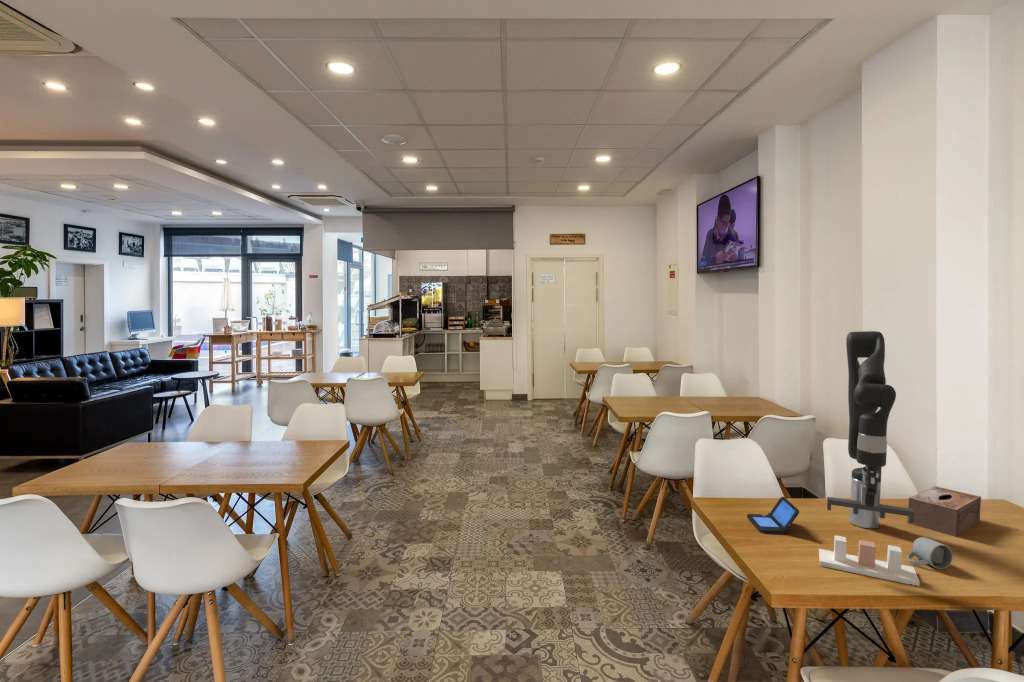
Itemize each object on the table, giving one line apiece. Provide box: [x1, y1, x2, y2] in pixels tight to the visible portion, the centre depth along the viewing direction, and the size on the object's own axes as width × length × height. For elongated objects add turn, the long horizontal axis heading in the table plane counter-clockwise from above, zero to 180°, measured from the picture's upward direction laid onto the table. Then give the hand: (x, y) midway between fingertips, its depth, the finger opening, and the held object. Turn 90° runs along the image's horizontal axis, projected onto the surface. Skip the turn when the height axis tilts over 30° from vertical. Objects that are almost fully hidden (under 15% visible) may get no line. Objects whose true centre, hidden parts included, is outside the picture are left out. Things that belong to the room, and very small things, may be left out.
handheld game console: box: [746, 496, 800, 535], centre depth 197 cm, size 16×13×9 cm
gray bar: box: [826, 484, 914, 523], centre depth 163 cm, size 3×22×9 cm, turn 61°
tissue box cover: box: [907, 485, 982, 538], centre depth 202 cm, size 26×14×10 cm, turn 124°
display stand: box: [818, 535, 920, 587], centre depth 164 cm, size 10×25×8 cm, turn 61°
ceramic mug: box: [907, 536, 954, 570], centre depth 168 cm, size 11×8×8 cm
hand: (869, 503), depth 163 cm, fingers closed on gray bar, 3 cm apart
